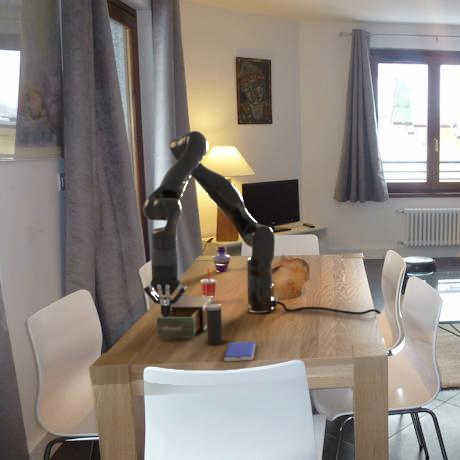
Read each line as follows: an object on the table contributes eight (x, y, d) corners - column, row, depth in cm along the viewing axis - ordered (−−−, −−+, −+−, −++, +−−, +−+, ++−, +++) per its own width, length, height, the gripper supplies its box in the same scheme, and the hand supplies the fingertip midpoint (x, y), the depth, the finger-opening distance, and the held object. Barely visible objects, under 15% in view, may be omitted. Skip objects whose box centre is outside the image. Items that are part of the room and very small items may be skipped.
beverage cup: (219, 300, 252) (218, 266, 250) (213, 304, 246) (212, 270, 244) (205, 299, 253) (204, 265, 250) (198, 304, 247) (197, 269, 244)
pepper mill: (223, 340, 207) (222, 303, 204) (220, 344, 202) (219, 307, 200) (209, 340, 206) (208, 303, 204) (206, 345, 202) (205, 307, 200)
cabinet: (203, 332, 214) (202, 307, 213) (165, 332, 213) (164, 307, 212) (214, 318, 229) (213, 295, 227) (178, 318, 228) (177, 295, 226)
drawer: (190, 343, 200) (189, 322, 199) (152, 343, 199) (151, 322, 198) (205, 325, 218) (204, 306, 217) (171, 325, 217) (170, 306, 216)
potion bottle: (234, 268, 307) (233, 244, 305) (227, 272, 298) (226, 248, 296) (217, 268, 308) (216, 244, 306) (209, 272, 299) (208, 247, 297)
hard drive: (228, 342, 200) (224, 356, 188) (255, 341, 202) (252, 355, 190) (228, 347, 200) (224, 361, 188) (255, 346, 202) (252, 360, 190)
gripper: (137, 264, 189) (140, 319, 191) (182, 264, 190) (184, 320, 192) (146, 259, 196) (149, 312, 199) (190, 259, 197) (191, 312, 200)
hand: (166, 316), depth 196 cm, fingers closed
